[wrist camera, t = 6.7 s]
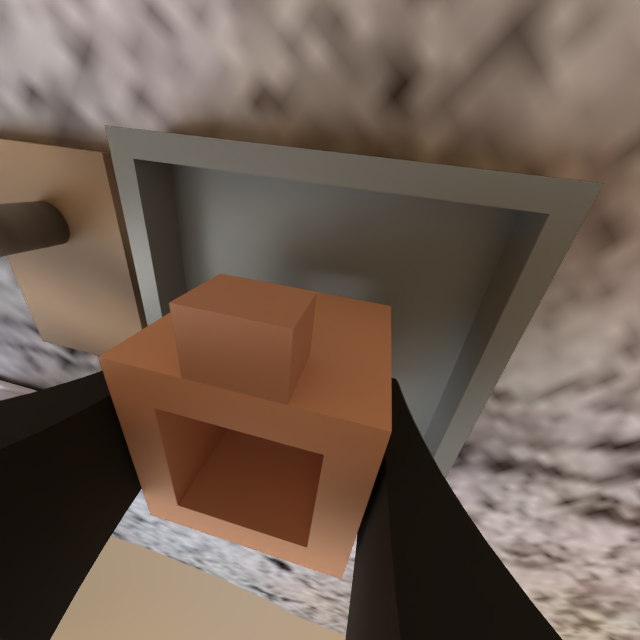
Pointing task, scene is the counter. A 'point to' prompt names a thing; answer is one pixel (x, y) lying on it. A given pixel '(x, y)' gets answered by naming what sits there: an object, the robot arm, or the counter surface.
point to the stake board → (69, 244)
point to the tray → (359, 249)
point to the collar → (259, 415)
